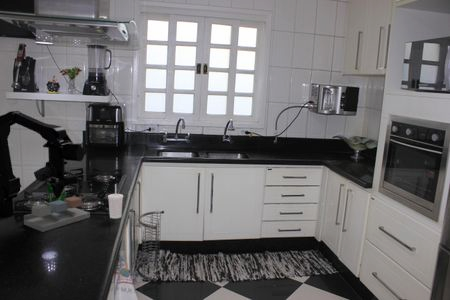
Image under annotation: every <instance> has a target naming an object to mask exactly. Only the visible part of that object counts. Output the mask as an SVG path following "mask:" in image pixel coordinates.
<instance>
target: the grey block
mask: <svg viewBox="0 0 450 300" xmlns="http://www.w3.org/2000/svg"><path fill="white" fill-rule="evenodd" d="M31 214H32V215H34V216H37V217H43V216H46V215H50V214H51V207H50V206H49V205H48V204H44V203H41V204H38V205H35V206H31Z"/></svg>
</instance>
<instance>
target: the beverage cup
mask: <svg viewBox="0 0 450 300" xmlns="http://www.w3.org/2000/svg"><path fill="white" fill-rule="evenodd" d="M123 198H124V195H123V194H121V193H117V183H115V184H114V193H112V194H109V195H107V199H108V206H109V207H108V208H109V209H108V210H109V217H110V219H120V218H122V212H123V200H124V199H123Z"/></svg>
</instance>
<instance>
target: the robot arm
mask: <svg viewBox="0 0 450 300" xmlns="http://www.w3.org/2000/svg"><path fill="white" fill-rule="evenodd" d="M16 124H17V125H19V126H21V127H23V128H26V129H28V130H30V131H32V132H35V133H37V134H39V135H40V137H41V138H42V139H44V140H45V141H46V142H45V143H44V144H43V145H42V148H46V149H47V148H48V149H47V150H48V155H47V156H48V161H46V162H45V166H43V167H40V168H39V169H37V170H36V171H35V170H34V172H33V174H34V177H35V180H36V181H40V182H41V183H43V182H45V183H46V184H47V183H49V184H50V185H51V187H52V189H53V192H54V195H55V197H56V198H59V197H60V195H61V193H62V191H63V189H64V187H66V186H70V185H76V184H78V183H79V177H78V176H77V175H74V174H68V171H66V167H65V165H67V164H68V161H70V162H71V161H72V162H82V161H83V160H84V158H85V149H84V147H82V144H81V143H79V142H77V143H73V141H72V139H71V137H70V136H69V134H68V132H67V130H66V128H65V127H64V126H61V125H55V124H50V123H45V122H44V121H43V122H42V121H41V120H38V119H37V118H34V117H32V116H29V115H27V114H25V113H23V112H21V111H20V110H12V111H8V112H6V113H5V114H1V115H0V218H6V217H9V216H14V215H17V214H18V212H17V211H15V210H14V199H15V198H17V197H18V195H19V192H20V191H21V188H22V184H21V178H20V177H16V176H15V175H14V171H13V166H12V159H11V158H12V157H11V152H10V151H11V150H10V147H9V146H10V145H9V141H8V138H9V136H10V134H11V126H14V125H16Z"/></svg>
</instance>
